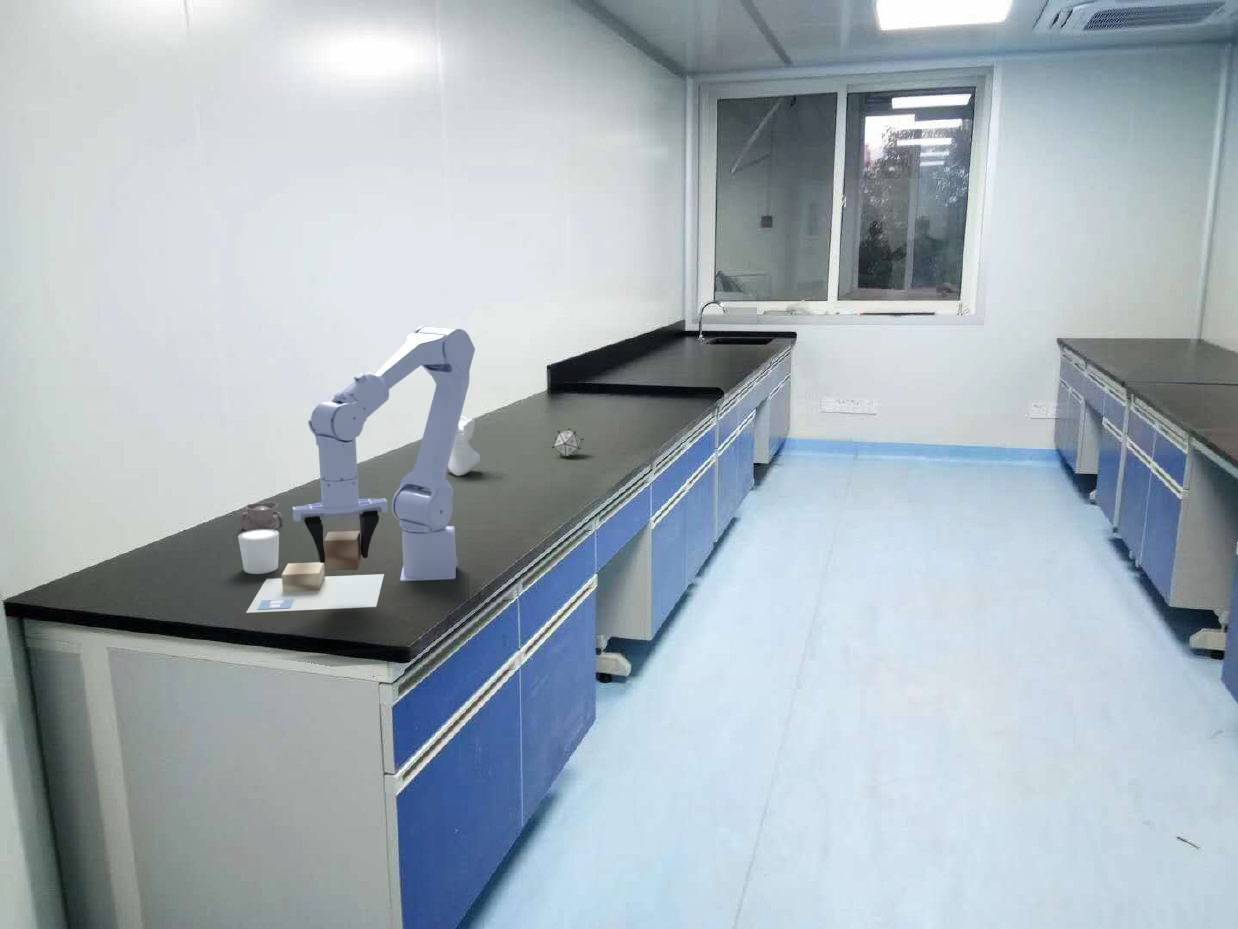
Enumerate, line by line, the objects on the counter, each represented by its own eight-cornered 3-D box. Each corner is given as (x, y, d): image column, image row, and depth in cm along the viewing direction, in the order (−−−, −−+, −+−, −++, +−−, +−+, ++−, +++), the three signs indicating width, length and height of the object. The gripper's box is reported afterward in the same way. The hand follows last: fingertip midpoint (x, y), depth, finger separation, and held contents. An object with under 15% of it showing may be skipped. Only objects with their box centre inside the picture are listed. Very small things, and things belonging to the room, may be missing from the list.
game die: (574, 470, 269) (591, 445, 264) (547, 462, 266) (563, 436, 260) (571, 449, 276) (587, 425, 271) (544, 441, 272) (560, 416, 267)
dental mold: (239, 535, 193) (237, 511, 192) (243, 526, 199) (241, 503, 198) (281, 532, 195) (279, 509, 194) (283, 523, 201) (282, 500, 200)
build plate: (384, 576, 169) (384, 573, 169) (376, 609, 153) (376, 605, 153) (266, 581, 166) (266, 578, 166) (246, 615, 150) (245, 611, 150)
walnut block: (361, 559, 157) (360, 530, 156) (357, 569, 153) (356, 539, 152) (330, 561, 157) (328, 531, 156) (325, 570, 152) (323, 540, 151)
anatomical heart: (483, 471, 251) (482, 414, 248) (472, 480, 240) (471, 422, 237) (447, 469, 252) (445, 413, 249) (435, 479, 241) (433, 421, 238)
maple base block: (324, 578, 166) (323, 562, 166) (319, 590, 160) (318, 573, 160) (289, 579, 165) (288, 563, 165) (282, 591, 159) (281, 574, 159)
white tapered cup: (286, 565, 175) (284, 528, 173) (274, 577, 168) (271, 539, 166) (248, 565, 174) (245, 528, 173) (235, 577, 168) (232, 539, 166)
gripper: (380, 468, 158) (383, 546, 161) (288, 475, 152) (293, 556, 155) (388, 477, 152) (392, 558, 155) (293, 485, 146) (298, 569, 149)
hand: (343, 558), depth 154 cm, fingers closed on walnut block, 6 cm apart
